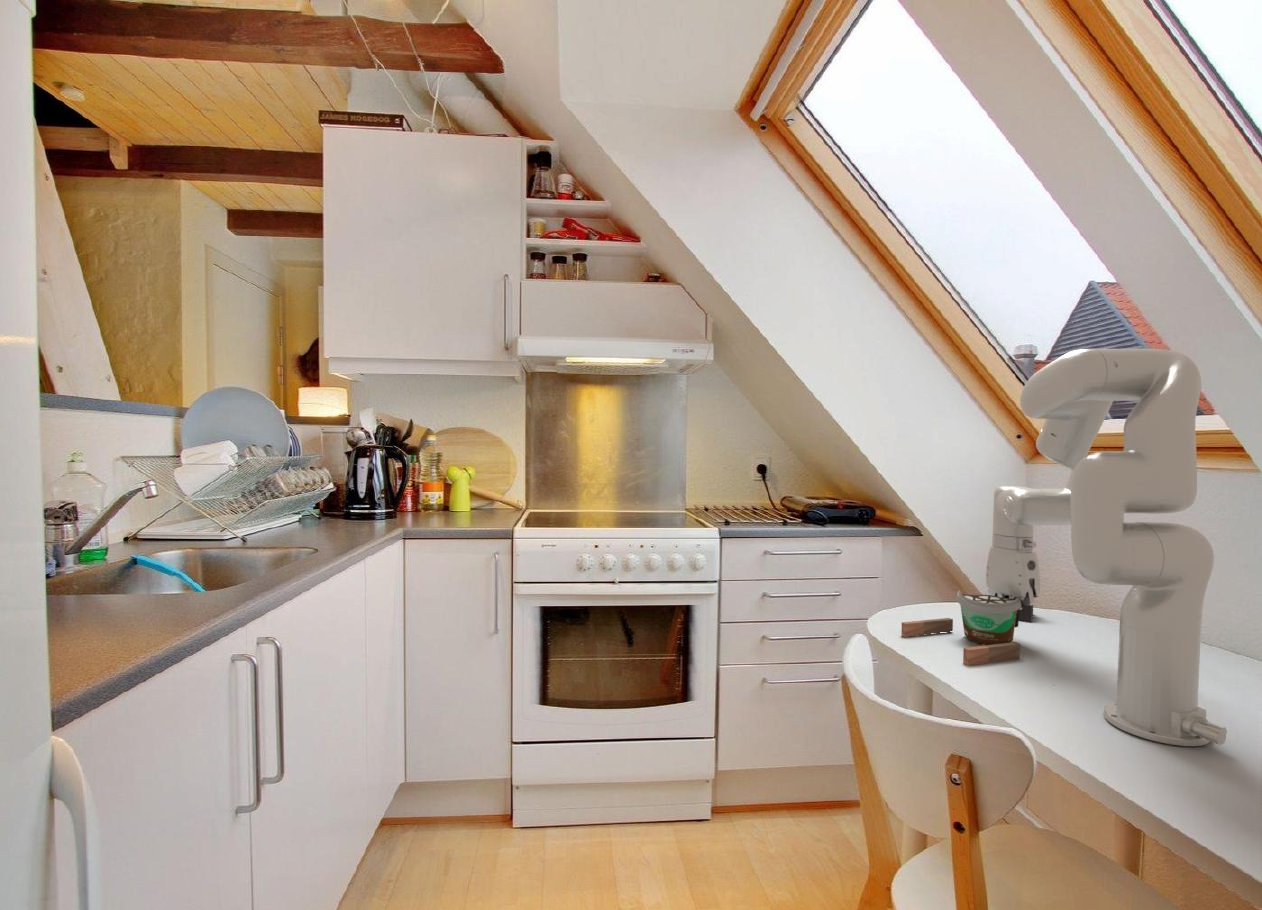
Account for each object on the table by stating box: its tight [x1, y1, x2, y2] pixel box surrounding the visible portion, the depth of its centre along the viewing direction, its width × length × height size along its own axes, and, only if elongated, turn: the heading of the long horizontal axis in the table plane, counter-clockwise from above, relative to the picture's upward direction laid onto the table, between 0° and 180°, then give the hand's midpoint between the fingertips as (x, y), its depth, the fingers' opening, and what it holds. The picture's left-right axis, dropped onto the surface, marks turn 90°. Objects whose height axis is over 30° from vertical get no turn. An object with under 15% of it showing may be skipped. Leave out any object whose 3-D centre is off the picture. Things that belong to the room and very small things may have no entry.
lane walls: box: [900, 617, 1021, 666], centre depth 133 cm, size 18×13×3 cm
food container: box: [955, 590, 1021, 646], centre depth 134 cm, size 12×6×10 cm, turn 61°
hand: (1009, 626), depth 137 cm, fingers closed
